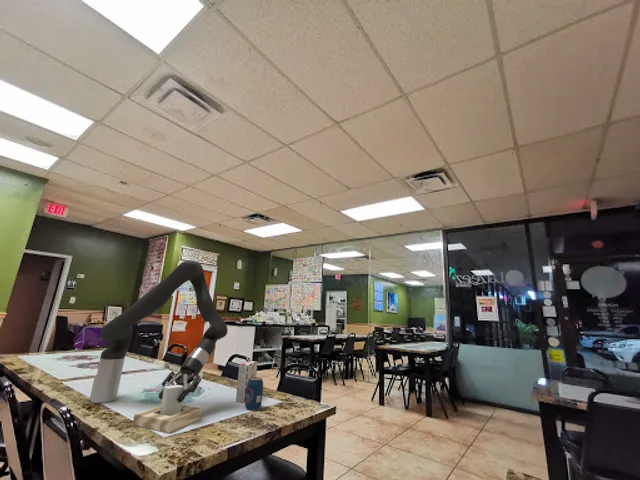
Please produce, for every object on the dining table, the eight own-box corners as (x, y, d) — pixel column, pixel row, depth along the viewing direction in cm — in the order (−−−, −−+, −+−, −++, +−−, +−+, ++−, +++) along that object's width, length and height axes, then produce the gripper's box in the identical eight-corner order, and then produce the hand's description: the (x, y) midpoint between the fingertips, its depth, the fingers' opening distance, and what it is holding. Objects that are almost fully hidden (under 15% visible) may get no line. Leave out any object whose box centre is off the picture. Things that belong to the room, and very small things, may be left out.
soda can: (241, 407, 128) (244, 377, 131) (254, 405, 132) (257, 376, 135) (250, 412, 123) (253, 380, 126) (264, 408, 128) (266, 379, 131)
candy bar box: (245, 396, 146) (248, 360, 150) (254, 397, 145) (258, 361, 149) (234, 402, 135) (238, 363, 139) (244, 403, 134) (248, 364, 138)
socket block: (132, 425, 103) (134, 414, 104) (167, 412, 117) (169, 402, 118) (168, 433, 98) (170, 421, 99) (201, 418, 113) (202, 408, 113)
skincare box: (175, 418, 111) (180, 384, 114) (179, 421, 109) (184, 386, 111) (157, 421, 107) (163, 386, 110) (161, 425, 104) (167, 388, 107)
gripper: (177, 354, 122) (149, 391, 109) (206, 357, 118) (180, 396, 104) (184, 366, 126) (158, 403, 112) (213, 370, 121) (188, 408, 108)
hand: (169, 399), depth 108 cm, fingers open, 8 cm apart
